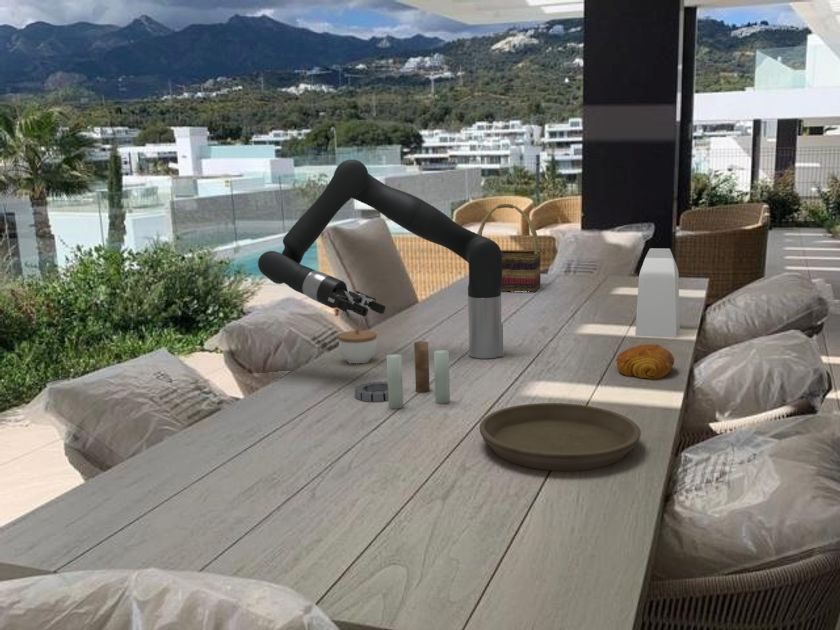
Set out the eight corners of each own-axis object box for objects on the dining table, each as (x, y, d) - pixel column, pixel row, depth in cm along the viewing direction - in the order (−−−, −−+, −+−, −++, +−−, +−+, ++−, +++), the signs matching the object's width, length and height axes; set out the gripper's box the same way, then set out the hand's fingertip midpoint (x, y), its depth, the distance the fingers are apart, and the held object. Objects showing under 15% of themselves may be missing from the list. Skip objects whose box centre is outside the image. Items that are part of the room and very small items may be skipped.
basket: (471, 291, 343) (469, 205, 336) (480, 285, 357) (478, 202, 350) (535, 293, 335) (535, 204, 328) (542, 287, 348) (541, 202, 342)
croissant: (677, 375, 220) (679, 344, 220) (667, 382, 206) (670, 350, 206) (621, 369, 226) (623, 339, 226) (609, 376, 212) (611, 344, 212)
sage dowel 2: (449, 399, 198) (447, 349, 196) (450, 403, 195) (449, 353, 193) (434, 399, 198) (433, 350, 196) (436, 404, 195) (434, 353, 193)
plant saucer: (646, 428, 175) (646, 407, 174) (632, 485, 146) (632, 460, 145) (500, 417, 185) (500, 397, 184) (460, 468, 156) (460, 445, 155)
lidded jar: (372, 366, 230) (370, 333, 229) (334, 365, 233) (332, 332, 231) (381, 357, 241) (380, 325, 239) (345, 356, 243) (344, 324, 241)
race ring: (399, 387, 209) (399, 380, 209) (401, 400, 199) (401, 393, 198) (355, 389, 209) (355, 382, 208) (355, 402, 198) (354, 395, 198)
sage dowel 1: (403, 404, 196) (401, 354, 194) (403, 408, 193) (401, 357, 190) (388, 404, 196) (386, 354, 193) (388, 409, 192) (386, 358, 190)
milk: (635, 335, 256) (636, 250, 251) (640, 327, 267) (641, 246, 262) (676, 337, 252) (678, 251, 247) (679, 329, 262) (682, 246, 257)
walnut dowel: (429, 388, 208) (427, 340, 206) (430, 392, 205) (428, 344, 202) (415, 388, 208) (413, 341, 205) (416, 392, 204) (414, 344, 202)
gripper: (312, 276, 211) (365, 299, 204) (343, 274, 223) (393, 296, 217) (304, 304, 212) (356, 327, 206) (335, 300, 225) (385, 323, 218)
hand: (375, 311), depth 211 cm, fingers open, 8 cm apart
